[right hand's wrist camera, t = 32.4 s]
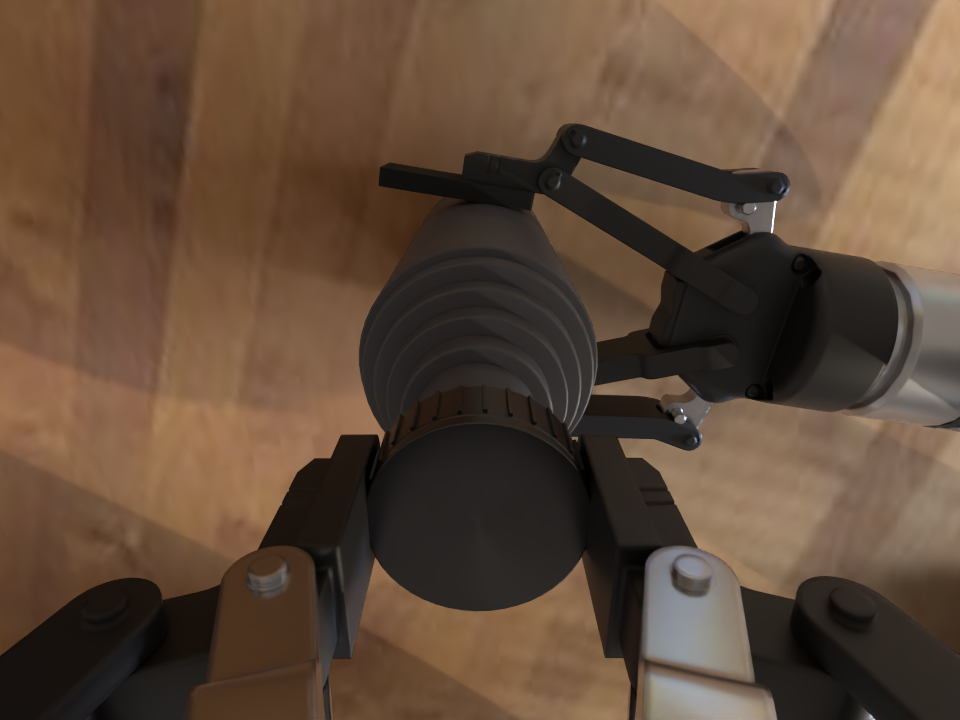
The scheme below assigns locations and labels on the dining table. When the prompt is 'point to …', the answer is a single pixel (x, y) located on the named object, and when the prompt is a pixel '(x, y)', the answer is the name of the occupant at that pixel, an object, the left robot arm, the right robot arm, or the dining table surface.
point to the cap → (478, 499)
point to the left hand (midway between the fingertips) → (376, 261)
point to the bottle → (478, 317)
